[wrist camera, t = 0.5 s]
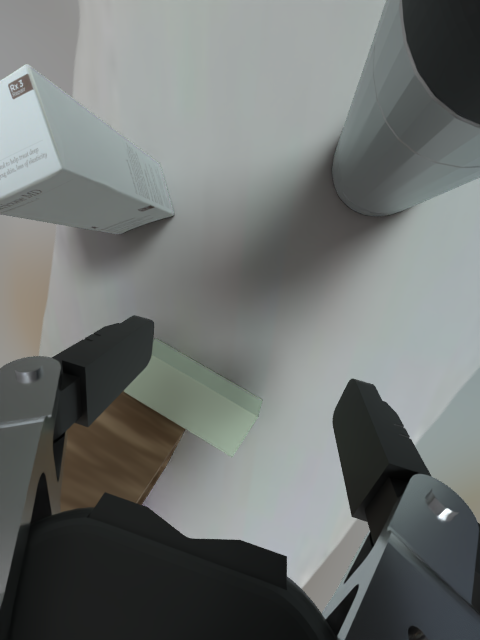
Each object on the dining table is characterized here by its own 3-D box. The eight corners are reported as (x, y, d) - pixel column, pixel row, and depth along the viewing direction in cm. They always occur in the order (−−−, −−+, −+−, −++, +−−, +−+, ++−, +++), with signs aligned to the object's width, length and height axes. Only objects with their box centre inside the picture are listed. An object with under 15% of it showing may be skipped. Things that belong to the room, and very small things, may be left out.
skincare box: (119, 235, 31) (-33, 219, 17) (102, 183, 29) (-78, 119, 15) (179, 214, 28) (60, 173, 14) (162, 156, 27) (15, 52, 13)
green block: (156, 338, 33) (140, 347, 30) (262, 399, 32) (258, 416, 28) (140, 378, 35) (123, 391, 32) (238, 437, 34) (232, 457, 31)
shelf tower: (100, 371, 37) (-834, 917, 6) (188, 424, 35) (-468, 1415, 5) (86, 415, 39) (-602, 932, 9) (166, 465, 38) (-332, 1251, 8)
